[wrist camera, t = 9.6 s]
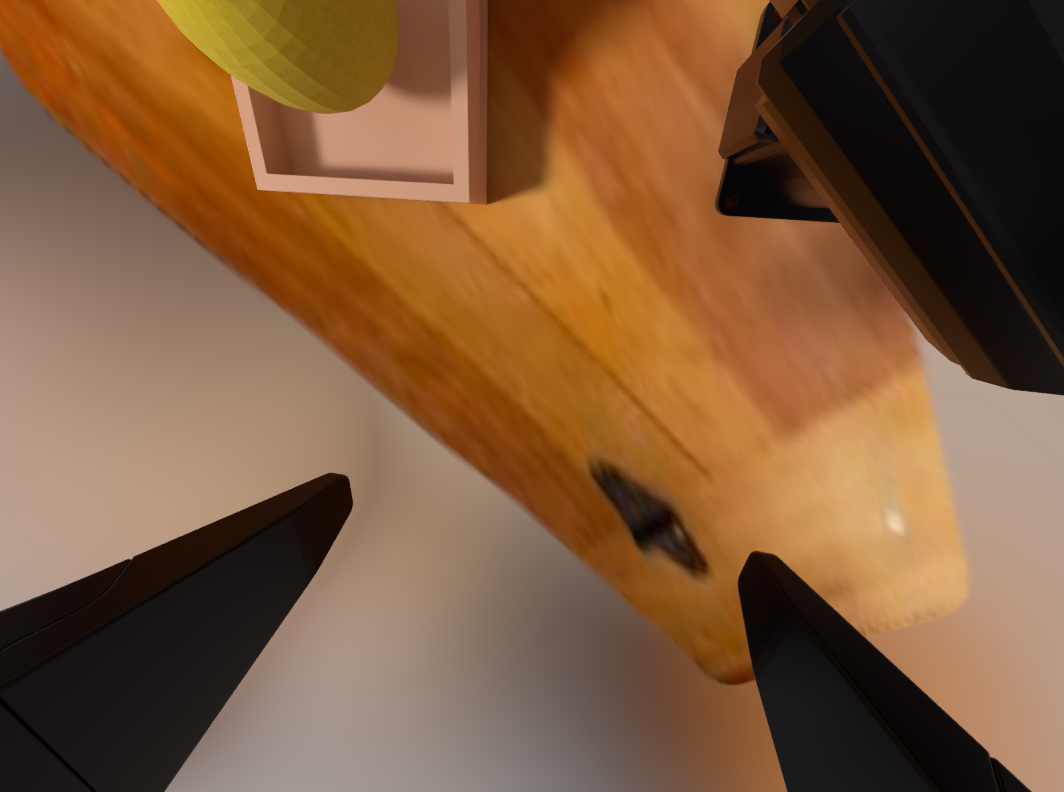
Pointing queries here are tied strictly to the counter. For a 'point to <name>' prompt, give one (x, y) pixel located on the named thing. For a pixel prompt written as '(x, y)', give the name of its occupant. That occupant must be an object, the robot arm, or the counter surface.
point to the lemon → (297, 46)
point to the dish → (390, 120)
